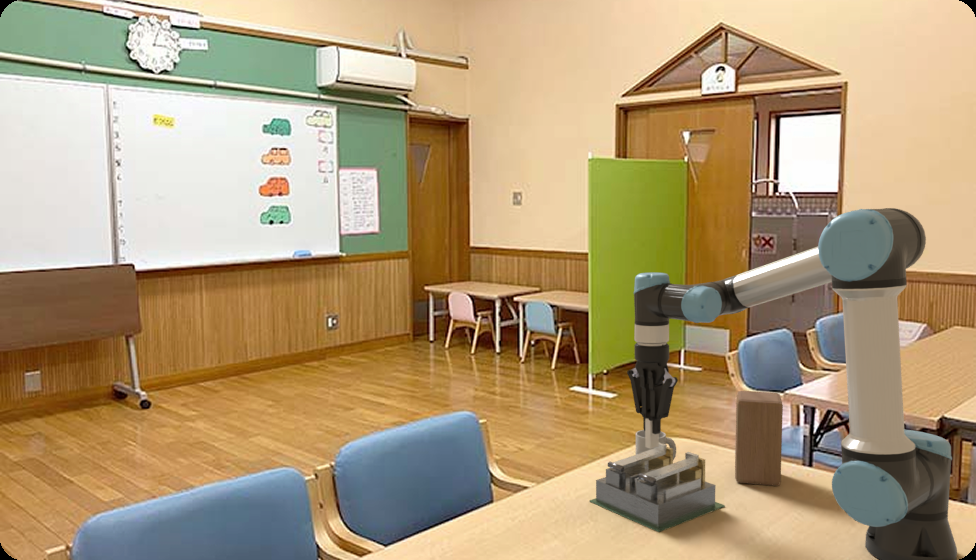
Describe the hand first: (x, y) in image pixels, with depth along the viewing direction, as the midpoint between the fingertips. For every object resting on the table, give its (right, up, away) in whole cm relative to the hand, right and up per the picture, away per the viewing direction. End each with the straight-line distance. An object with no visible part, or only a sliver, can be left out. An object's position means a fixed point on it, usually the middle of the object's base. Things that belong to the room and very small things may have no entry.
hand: (652, 446), depth 177 cm
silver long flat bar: (-3, -3, -2) cm, 5 cm away
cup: (+5, -10, +18) cm, 21 cm away
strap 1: (+2, -4, -9) cm, 10 cm away
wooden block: (+27, -10, +11) cm, 31 cm away
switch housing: (0, -12, -4) cm, 12 cm away
